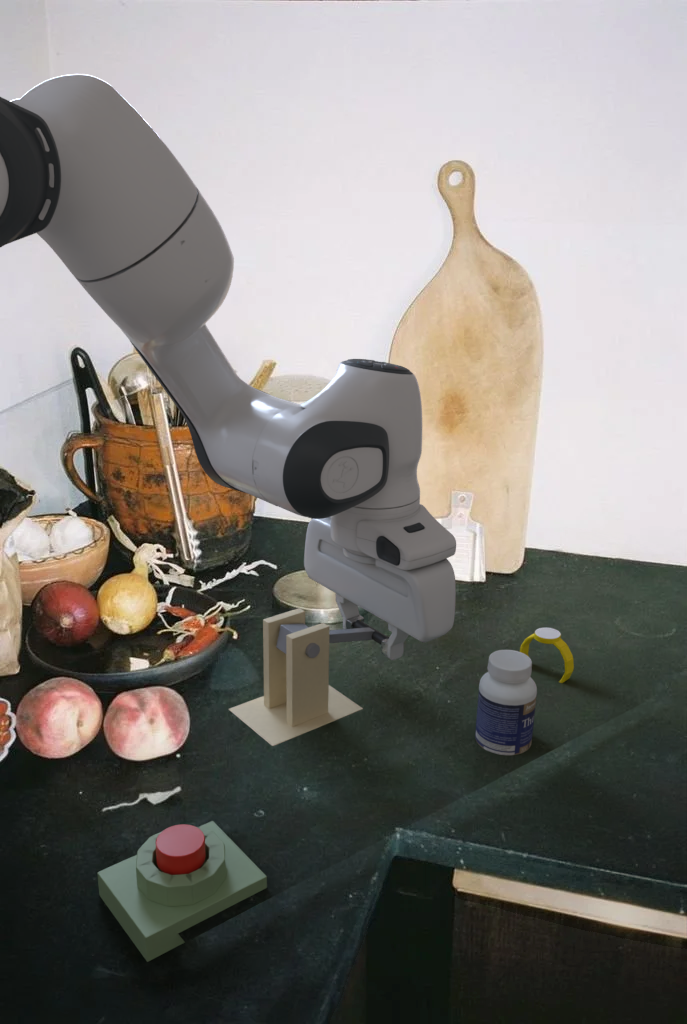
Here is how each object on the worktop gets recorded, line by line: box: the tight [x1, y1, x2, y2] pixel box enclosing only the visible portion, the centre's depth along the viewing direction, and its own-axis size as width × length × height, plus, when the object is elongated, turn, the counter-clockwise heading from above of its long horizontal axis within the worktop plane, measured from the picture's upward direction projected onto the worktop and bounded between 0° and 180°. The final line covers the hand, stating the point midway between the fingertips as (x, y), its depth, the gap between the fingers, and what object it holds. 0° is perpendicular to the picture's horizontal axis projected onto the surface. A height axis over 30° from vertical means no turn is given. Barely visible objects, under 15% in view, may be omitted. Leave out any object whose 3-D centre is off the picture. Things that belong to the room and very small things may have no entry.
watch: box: [519, 627, 575, 684], centre depth 101 cm, size 6×3×6 cm, turn 47°
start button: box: [156, 823, 206, 875], centre depth 69 cm, size 4×4×2 cm
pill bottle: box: [474, 649, 538, 756], centre depth 88 cm, size 5×5×10 cm
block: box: [96, 820, 268, 963], centre depth 70 cm, size 10×8×4 cm
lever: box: [276, 620, 390, 654], centre depth 94 cm, size 12×5×2 cm, turn 128°
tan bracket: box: [228, 607, 364, 747], centre depth 92 cm, size 11×8×11 cm
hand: (372, 644), depth 98 cm, fingers closed on lever, 5 cm apart
